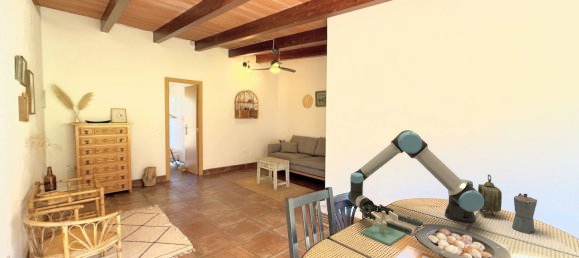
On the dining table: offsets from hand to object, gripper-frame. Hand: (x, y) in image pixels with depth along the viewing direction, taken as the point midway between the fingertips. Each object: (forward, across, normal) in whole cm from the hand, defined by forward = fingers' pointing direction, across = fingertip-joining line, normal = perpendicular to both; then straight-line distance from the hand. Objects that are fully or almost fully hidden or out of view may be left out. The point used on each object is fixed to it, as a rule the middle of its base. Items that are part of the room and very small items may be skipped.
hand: (388, 219), depth 129 cm
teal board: (-4, 0, -10) cm, 11 cm away
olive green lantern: (-10, -77, -10) cm, 78 cm away
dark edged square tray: (-11, -19, -10) cm, 24 cm away
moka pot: (+10, -75, -10) cm, 77 cm away
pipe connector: (-4, 0, -8) cm, 9 cm away
